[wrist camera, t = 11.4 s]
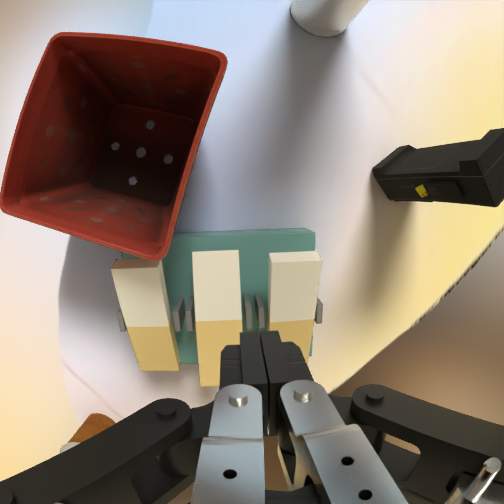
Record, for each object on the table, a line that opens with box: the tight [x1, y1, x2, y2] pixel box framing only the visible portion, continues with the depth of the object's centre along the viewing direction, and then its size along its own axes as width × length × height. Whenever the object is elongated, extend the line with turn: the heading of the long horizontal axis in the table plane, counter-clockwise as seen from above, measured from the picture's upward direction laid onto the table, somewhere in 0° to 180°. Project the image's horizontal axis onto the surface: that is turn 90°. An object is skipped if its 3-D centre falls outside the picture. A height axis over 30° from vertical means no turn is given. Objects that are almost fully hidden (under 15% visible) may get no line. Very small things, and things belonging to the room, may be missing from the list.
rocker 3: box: [267, 251, 322, 363], centre depth 35 cm, size 15×5×2 cm, turn 2°
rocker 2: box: [192, 250, 243, 386], centre depth 35 cm, size 15×5×2 cm, turn 2°
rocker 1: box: [111, 258, 180, 371], centre depth 34 cm, size 15×5×2 cm, turn 2°
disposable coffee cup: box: [60, 413, 116, 453], centre depth 42 cm, size 10×10×12 cm
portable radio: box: [372, 128, 504, 207], centre depth 31 cm, size 8×6×25 cm
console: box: [117, 228, 323, 364], centre depth 40 cm, size 17×24×10 cm
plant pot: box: [0, 32, 228, 261], centre depth 32 cm, size 19×19×17 cm
